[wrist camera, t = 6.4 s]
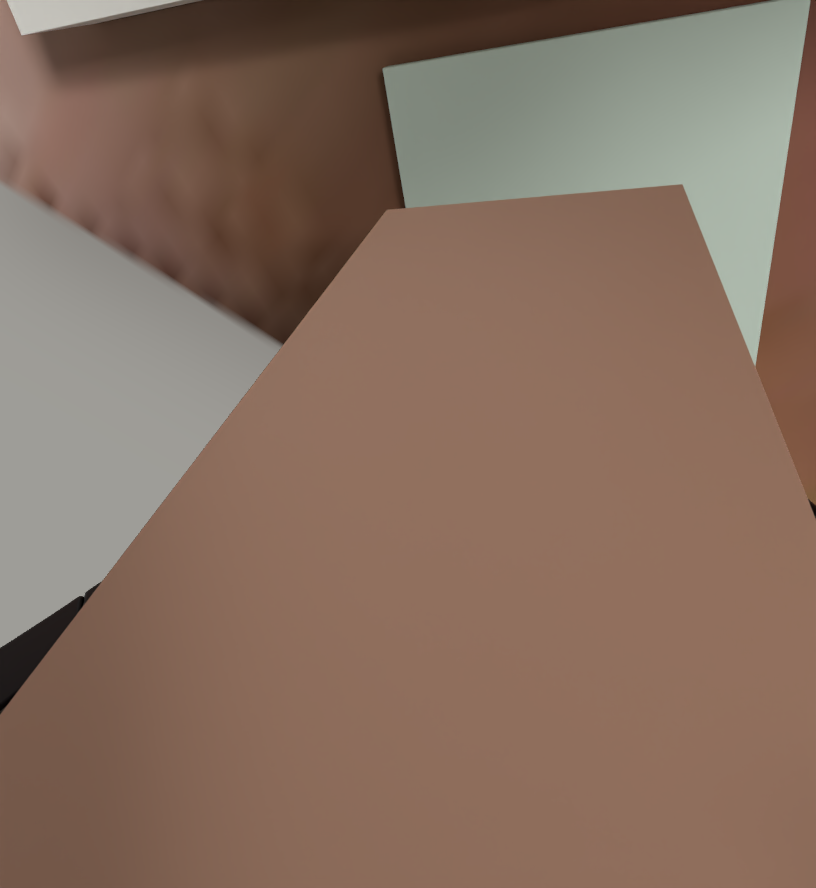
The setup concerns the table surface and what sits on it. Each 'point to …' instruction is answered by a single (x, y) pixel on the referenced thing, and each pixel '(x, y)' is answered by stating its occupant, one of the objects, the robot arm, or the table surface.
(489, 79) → the mat
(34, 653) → the robot arm
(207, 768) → the peg
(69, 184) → the table surface
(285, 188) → the table surface
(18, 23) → the dock
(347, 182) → the table surface
